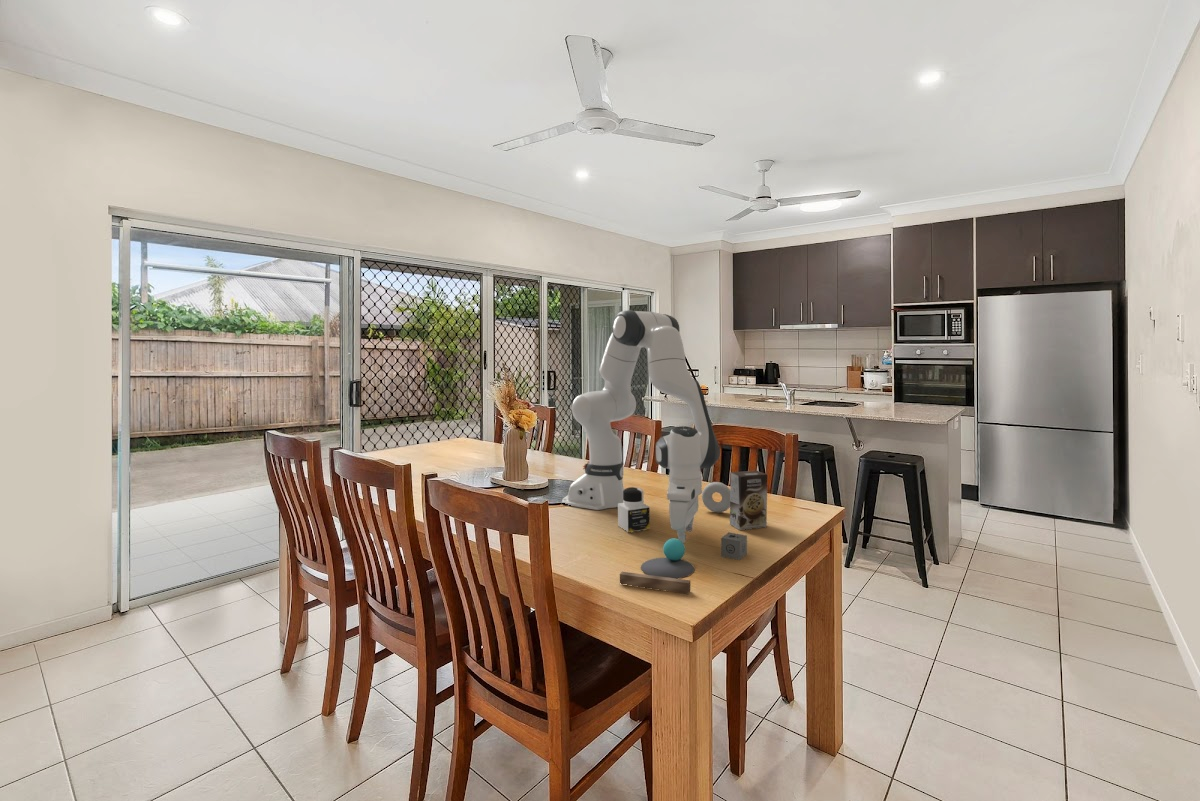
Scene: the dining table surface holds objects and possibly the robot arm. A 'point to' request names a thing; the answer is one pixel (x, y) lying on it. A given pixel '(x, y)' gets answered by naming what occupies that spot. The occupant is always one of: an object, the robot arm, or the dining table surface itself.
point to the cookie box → (748, 500)
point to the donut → (708, 499)
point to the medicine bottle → (633, 511)
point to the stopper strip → (655, 582)
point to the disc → (667, 568)
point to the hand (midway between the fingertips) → (685, 536)
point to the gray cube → (734, 546)
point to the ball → (674, 549)
